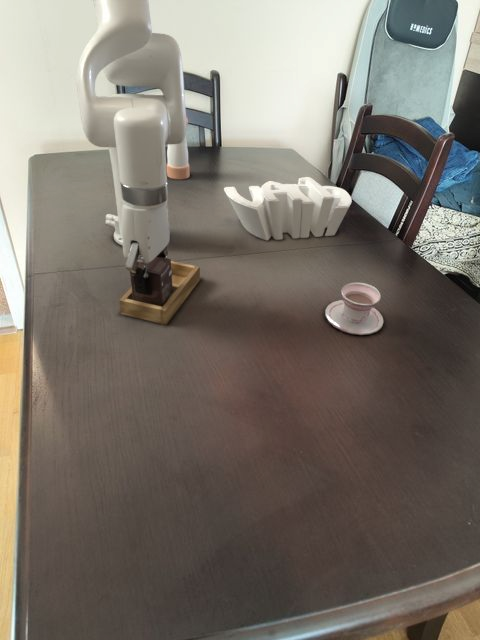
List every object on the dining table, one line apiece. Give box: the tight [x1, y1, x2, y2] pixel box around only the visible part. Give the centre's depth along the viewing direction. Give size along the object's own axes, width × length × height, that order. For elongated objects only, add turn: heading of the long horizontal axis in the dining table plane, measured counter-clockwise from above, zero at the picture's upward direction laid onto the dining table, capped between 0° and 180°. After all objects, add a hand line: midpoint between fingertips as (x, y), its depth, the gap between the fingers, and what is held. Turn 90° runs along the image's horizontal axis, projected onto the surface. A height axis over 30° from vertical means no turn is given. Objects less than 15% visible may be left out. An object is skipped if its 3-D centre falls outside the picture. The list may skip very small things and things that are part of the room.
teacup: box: [324, 281, 384, 336], centre depth 92 cm, size 12×12×6 cm
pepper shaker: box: [166, 116, 191, 180], centre depth 143 cm, size 7×7×19 cm
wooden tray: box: [118, 260, 201, 325], centre depth 94 cm, size 9×18×3 cm, turn 165°
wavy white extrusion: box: [223, 176, 353, 242], centre depth 123 cm, size 35×16×11 cm, turn 105°
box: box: [129, 255, 173, 306], centre depth 88 cm, size 6×6×7 cm
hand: (152, 283), depth 88 cm, fingers closed on box, 6 cm apart
